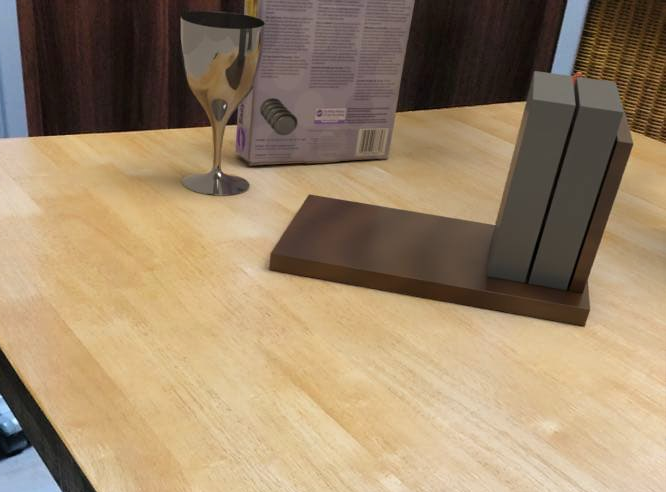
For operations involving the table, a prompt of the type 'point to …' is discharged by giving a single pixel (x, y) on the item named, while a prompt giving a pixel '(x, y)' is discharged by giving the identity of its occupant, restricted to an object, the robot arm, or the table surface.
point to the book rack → (437, 251)
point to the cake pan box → (324, 80)
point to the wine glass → (220, 80)
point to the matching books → (554, 178)
